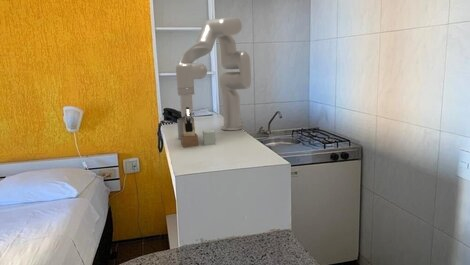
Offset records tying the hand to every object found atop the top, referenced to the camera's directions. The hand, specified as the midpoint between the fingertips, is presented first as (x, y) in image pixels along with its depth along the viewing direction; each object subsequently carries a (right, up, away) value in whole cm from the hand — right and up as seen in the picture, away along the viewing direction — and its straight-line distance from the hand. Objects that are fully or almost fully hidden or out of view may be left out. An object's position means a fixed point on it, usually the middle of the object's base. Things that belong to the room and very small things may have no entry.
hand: (188, 130), depth 173 cm
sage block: (+9, -6, +2) cm, 12 cm away
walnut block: (0, -7, +1) cm, 7 cm away
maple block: (0, -2, 0) cm, 2 cm away
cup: (-3, -4, +17) cm, 18 cm away
